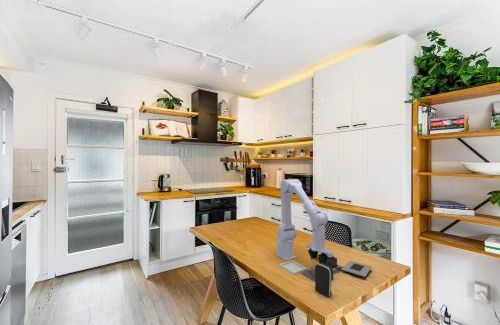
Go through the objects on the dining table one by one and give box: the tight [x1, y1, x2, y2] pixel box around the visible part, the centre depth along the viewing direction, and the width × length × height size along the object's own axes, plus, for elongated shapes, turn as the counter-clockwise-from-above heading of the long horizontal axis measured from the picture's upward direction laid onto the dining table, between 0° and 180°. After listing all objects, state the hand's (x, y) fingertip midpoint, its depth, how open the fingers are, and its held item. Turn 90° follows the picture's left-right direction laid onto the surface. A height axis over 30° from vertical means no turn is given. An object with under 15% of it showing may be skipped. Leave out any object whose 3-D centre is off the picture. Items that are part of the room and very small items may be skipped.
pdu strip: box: [301, 255, 344, 282], centre depth 113 cm, size 22×8×7 cm, turn 122°
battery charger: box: [314, 263, 334, 298], centre depth 95 cm, size 7×4×11 cm, turn 37°
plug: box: [311, 256, 320, 271], centre depth 110 cm, size 4×4×6 cm
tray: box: [278, 259, 308, 275], centre depth 117 cm, size 11×9×1 cm
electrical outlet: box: [341, 260, 373, 278], centre depth 114 cm, size 13×10×2 cm
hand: (318, 266), depth 111 cm, fingers closed on plug, 4 cm apart
